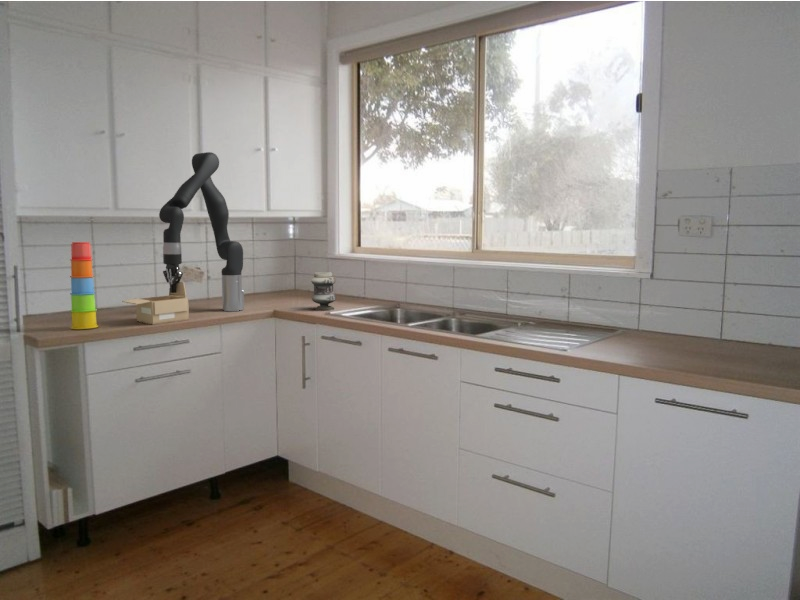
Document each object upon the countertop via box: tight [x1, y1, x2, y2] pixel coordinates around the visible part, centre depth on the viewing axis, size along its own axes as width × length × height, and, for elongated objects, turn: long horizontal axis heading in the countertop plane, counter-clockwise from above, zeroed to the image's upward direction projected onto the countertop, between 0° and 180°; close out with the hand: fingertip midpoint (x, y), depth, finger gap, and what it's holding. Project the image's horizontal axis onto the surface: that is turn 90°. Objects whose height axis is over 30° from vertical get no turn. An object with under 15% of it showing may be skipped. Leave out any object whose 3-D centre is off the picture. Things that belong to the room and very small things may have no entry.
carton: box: [135, 295, 190, 326], centre depth 276 cm, size 17×15×10 cm
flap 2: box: [168, 281, 188, 297], centre depth 281 cm, size 1×12×6 cm, turn 49°
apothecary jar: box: [310, 271, 337, 311], centre depth 312 cm, size 12×12×18 cm
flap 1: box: [121, 298, 150, 305], centre depth 267 cm, size 1×12×6 cm
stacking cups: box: [69, 241, 99, 330], centre depth 256 cm, size 10×10×35 cm
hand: (173, 292), depth 279 cm, fingers closed
